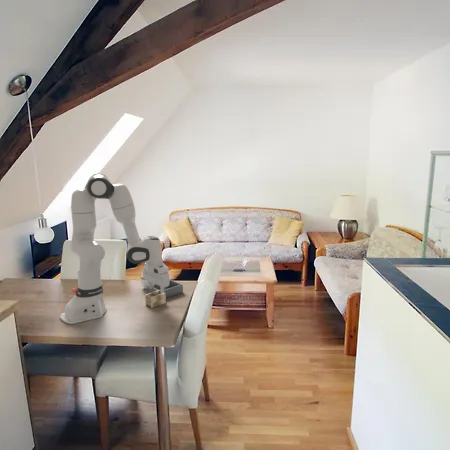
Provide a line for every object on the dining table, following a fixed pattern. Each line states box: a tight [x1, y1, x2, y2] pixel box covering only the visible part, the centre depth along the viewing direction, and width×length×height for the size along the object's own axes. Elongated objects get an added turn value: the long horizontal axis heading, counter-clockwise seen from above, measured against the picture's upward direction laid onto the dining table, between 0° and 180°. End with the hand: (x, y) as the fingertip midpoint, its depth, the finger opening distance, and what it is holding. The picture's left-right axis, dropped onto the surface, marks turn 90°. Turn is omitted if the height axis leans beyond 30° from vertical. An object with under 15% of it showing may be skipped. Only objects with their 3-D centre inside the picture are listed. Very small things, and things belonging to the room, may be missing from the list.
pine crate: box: [144, 290, 167, 309], centre depth 215 cm, size 9×6×6 cm, turn 134°
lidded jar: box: [139, 273, 154, 290], centre depth 240 cm, size 11×11×9 cm
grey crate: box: [147, 279, 184, 299], centre depth 230 cm, size 15×12×5 cm
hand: (156, 290), depth 214 cm, fingers open, 8 cm apart
